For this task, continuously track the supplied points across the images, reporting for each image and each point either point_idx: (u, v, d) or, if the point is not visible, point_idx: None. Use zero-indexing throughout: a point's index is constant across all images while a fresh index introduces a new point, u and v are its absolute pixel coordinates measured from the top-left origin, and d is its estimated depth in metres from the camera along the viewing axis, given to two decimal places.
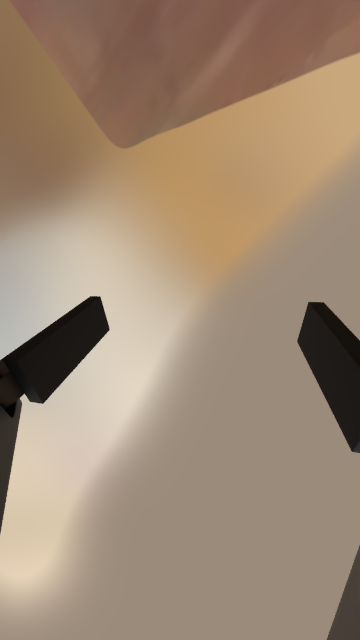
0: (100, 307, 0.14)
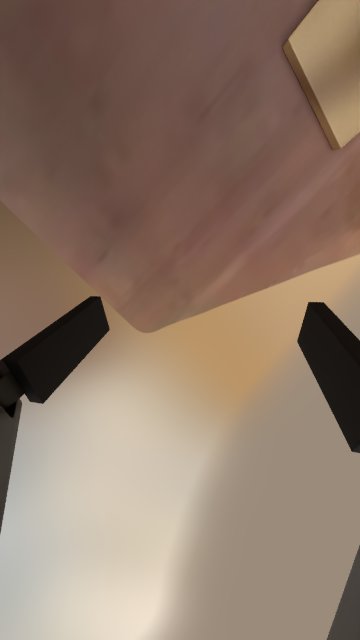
0: (100, 307, 0.14)
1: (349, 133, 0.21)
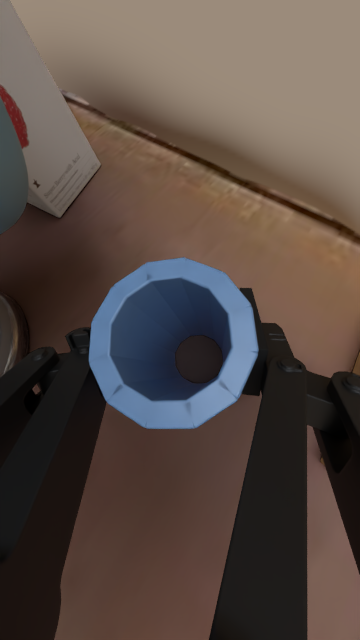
0: None
1: None
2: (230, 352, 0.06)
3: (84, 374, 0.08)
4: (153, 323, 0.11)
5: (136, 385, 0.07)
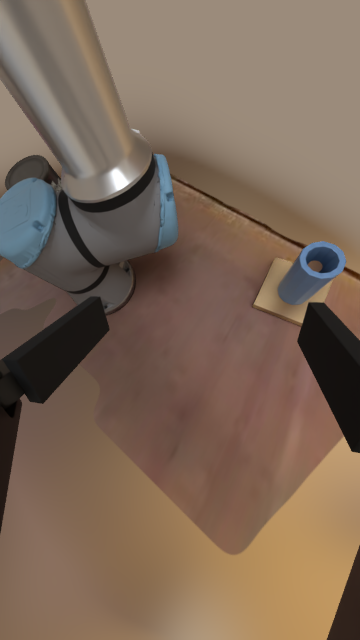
0: (100, 307, 0.14)
1: None
2: (339, 262, 0.27)
3: None
4: None
5: None
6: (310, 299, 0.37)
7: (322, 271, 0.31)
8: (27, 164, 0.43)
